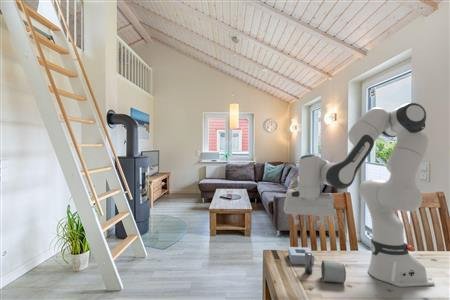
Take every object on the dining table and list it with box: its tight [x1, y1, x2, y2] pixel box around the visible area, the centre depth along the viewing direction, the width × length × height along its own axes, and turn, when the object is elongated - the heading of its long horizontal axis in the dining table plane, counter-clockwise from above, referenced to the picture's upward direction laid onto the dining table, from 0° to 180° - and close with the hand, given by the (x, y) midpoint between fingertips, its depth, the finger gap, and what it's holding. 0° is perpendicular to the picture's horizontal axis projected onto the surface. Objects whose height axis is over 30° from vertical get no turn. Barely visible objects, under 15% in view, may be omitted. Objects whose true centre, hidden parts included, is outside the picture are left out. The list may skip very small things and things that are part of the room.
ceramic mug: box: [320, 259, 347, 283], centre depth 105 cm, size 11×8×8 cm
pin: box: [304, 252, 313, 275], centre depth 111 cm, size 3×3×8 cm
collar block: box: [287, 246, 315, 266], centre depth 124 cm, size 10×10×4 cm
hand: (308, 225), depth 111 cm, fingers open, 8 cm apart
